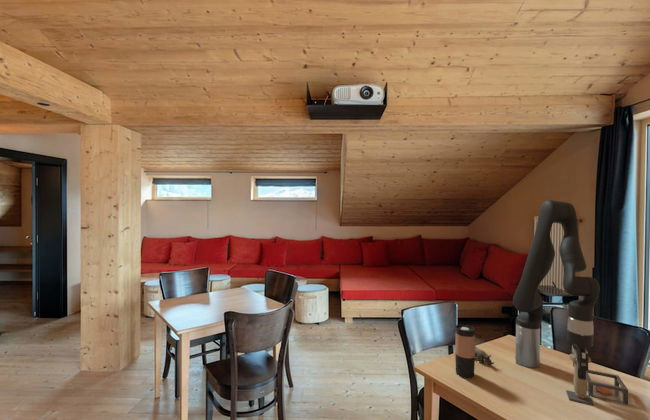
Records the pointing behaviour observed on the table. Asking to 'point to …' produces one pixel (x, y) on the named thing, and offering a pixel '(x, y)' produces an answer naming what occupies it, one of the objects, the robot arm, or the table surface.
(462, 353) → the travel mug
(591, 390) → the guard frame
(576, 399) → the rubber mat
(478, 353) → the rhino figurine
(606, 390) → the button
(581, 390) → the handle
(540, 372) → the table surface
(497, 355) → the table surface
